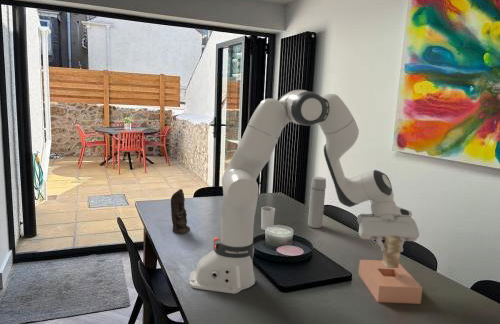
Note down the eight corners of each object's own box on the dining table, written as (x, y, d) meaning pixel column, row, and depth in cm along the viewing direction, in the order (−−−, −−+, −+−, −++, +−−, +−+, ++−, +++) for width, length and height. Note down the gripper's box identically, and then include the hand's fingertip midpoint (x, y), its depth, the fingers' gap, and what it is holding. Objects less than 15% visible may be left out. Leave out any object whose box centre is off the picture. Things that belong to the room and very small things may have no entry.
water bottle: (322, 229, 188) (327, 180, 184) (306, 227, 189) (310, 178, 185) (322, 223, 197) (327, 176, 192) (307, 222, 198) (311, 175, 194)
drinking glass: (276, 228, 185) (277, 209, 184) (268, 231, 180) (269, 211, 179) (266, 225, 190) (267, 205, 188) (257, 228, 185) (258, 208, 183)
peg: (386, 267, 128) (389, 239, 126) (382, 262, 132) (385, 235, 130) (398, 267, 128) (401, 239, 126) (393, 262, 132) (396, 235, 130)
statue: (183, 234, 171) (184, 191, 167) (169, 232, 173) (170, 189, 170) (190, 230, 177) (191, 188, 174) (177, 227, 179) (177, 186, 176)
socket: (377, 302, 121) (379, 286, 120) (358, 273, 141) (359, 259, 140) (420, 303, 121) (422, 287, 121) (395, 275, 141) (397, 261, 140)
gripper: (358, 209, 133) (365, 246, 125) (415, 211, 134) (425, 248, 126) (353, 217, 139) (359, 253, 131) (408, 219, 139) (417, 255, 131)
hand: (392, 251), depth 128 cm, fingers closed on peg, 4 cm apart
